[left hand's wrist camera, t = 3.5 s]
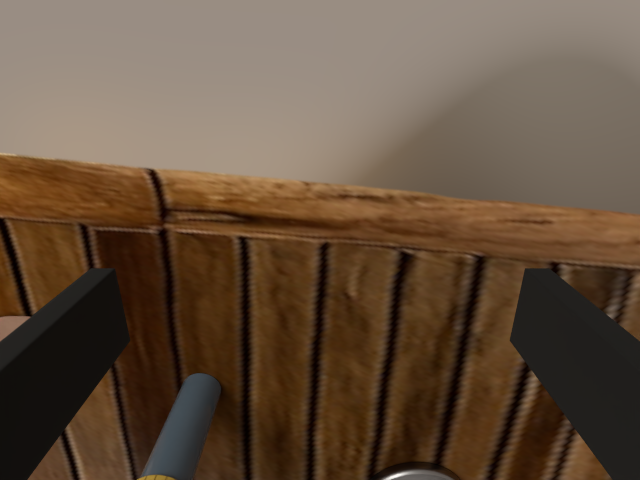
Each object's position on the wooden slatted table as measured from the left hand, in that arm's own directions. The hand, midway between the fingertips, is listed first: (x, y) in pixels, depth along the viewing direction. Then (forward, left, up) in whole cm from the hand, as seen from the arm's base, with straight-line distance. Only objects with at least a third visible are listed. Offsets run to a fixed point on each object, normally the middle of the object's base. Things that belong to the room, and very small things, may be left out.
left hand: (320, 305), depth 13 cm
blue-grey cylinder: (-29, +15, -28) cm, 43 cm away
